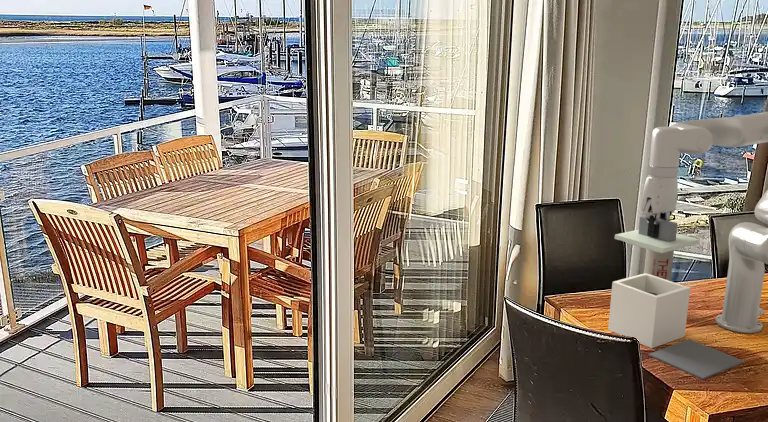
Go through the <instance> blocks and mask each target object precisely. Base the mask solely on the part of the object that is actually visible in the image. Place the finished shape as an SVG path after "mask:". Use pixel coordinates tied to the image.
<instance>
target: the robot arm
mask: <svg viewBox="0 0 768 422" xmlns="http://www.w3.org/2000/svg"><path fill="white" fill-rule="evenodd" d="M764 143H765V144H766V143H768V111H764V112H763V111H762V112H757V113H751V114H746V115H739V116H737V115H736V116H727V117H726V116H725V117H716V118H715V117H714V118H702V119H693V120H686V121H681V122H676V123H674V124H672V125H669V126H656V127H655V128H653V130H652V134H651V141H650V155H649V164H648V173H647V174H648V175H647V177H646V179H645V183H644V185H643V186H644V187H643V190H642V198H641V204H640V205H641V206H640V209H641V211H642V214H641V215H642V216H644V217H645V218H646V219H647V222H648V232H647V235H648V236H650V237H654V238H658V234H659V224H658V220H659V219H663V220H667V221H671V220H670V219H671V218H670V217H671V216H672V214H673V213H674V212H676V208H677V202H678V191H679V190H678V189H679V188H678V185H679V184H678V175H679V165H680V156H681V154H687V155H702V154H704V153H707V152H709V150H710V149H711V148H712V146H717V147H718V146H719V147H726V148H727V147H728V148H740V147H747V146H751V145H757V144H758V145H759V144H764ZM754 216H755V218H756V219H757V220H759V221H760V222H762V223H764V224H766V225H768V188H767V190H766V191H765V192H764V194H763V195H762V197H761V198H760V199H759V201H758V202H757V203H756V205H755V207H754ZM654 217H655V218H654ZM728 252H729V253H728V254H729V256H728V259H729V261H728V267H727V268H728V269H727V274H726V275H727V276H726V284H725V291H724V292H725V293H724V298H723V299H724V300H723V306H722V313H721V314H718V315H717V316H716V317H715V323H716V324H717V325H719V326H720V327H721V328H724V329H726V330H729V331H732V332H737V333H746V334H752V333H753V334H755V333H759V332H761V331H762V330H763V327H764V326H763V323H762V322H761V321H759V316H761V315H764V314H765V311H764V310H765V309H763V308H762V307H760V305H761V300H762V299H761V298H762V291H763V284H764V279H765V272H766V271H765V264H766V265H768V227H766V226H764V225H761V224H758V223H754V222H751V221H750V222H749V221H748V222H747V221H744V222H739V223H738V224H736V225H735V226H733V227H732V228H731V230H730V231H729V235H728Z"/></svg>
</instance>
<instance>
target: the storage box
mask: <svg viewBox="0 0 768 422" xmlns="http://www.w3.org/2000/svg"><path fill="white" fill-rule="evenodd" d="M647 292H652V293H656V294H658V295H653V294H650V293H647ZM610 293H611V294H610V295H611V296H610V305H609V316H608V317H609V318H608V325H607V326H608V327H607V330H608V331H610V332H613V333H614V334H617V335H620V336H622V335H625V336H631V337H635V338H637V339H638V340H639V341H640V343H639V344H641V345H643V346H644V347H647V348H650V349H653V348H656V347H657V348H658V347H659V346H662V345H664V344H665V345H666V344H667V343H670V342H673V341H674V342H675V341H676V340H679V339H682V338H684V337H685V336H686V335H685V334H686V328H687V327H686V326H687V320H688V319H687V318H688V311H689V310H688V309H689V302H690V293H691V287H689V286H686V285H684V284H679V283H678V282H674V281H672V280H671V281H668V280H665V279H662V278H659V277H656V276H653V275H650V274H647V273H644V272H643V273H641V274H638V275H633V276H629V277H625V278H621V279H618V280H614V281H612V283H611V292H610Z"/></svg>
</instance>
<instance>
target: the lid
mask: <svg viewBox="0 0 768 422" xmlns="http://www.w3.org/2000/svg"><path fill="white" fill-rule="evenodd" d="M654 218H655V216H654ZM658 224H659V234H658V238H654V237H650V236H648V235H647V232H648V222H647V219H646V218H645V217H644V216H643V215H642V216H640V217H639V225H638V229H636V230H631V231H625V232H620V233H615V234H614V240H617V241H621V242H625V244H628V245H633V246H636V247H639V248H642V249H645V250H646V249H648V250H652V251H655V252H659V253H665V252H668V251H672V250H674V251H675V250H680V249H683V248H686V247H687V248H688V247H691V246H694V245H695V246H696V245H699V244H700V239H699V238H695V237H692V236H687V235H684V234H680V233H677V231H678V223H677V222H675V221H671V220H669V221H667V220H663V219H659V220H658Z"/></svg>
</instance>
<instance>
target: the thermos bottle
mask: <svg viewBox="0 0 768 422" xmlns="http://www.w3.org/2000/svg"><path fill="white" fill-rule="evenodd" d="M645 250H646V251H645V260H644V270H643V274H644V273H647V274H650V275H653V276H656V277H659V278H662V279H665V280H668V281H671V282H672V271H673V263H674V253H675V252H674V251H675V250H672V251H668V252H665V253H659V252H655V251H652V250H648V249H645Z"/></svg>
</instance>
